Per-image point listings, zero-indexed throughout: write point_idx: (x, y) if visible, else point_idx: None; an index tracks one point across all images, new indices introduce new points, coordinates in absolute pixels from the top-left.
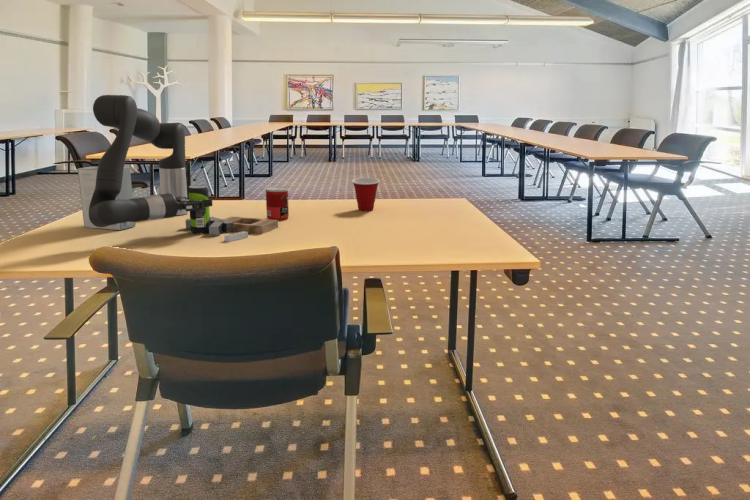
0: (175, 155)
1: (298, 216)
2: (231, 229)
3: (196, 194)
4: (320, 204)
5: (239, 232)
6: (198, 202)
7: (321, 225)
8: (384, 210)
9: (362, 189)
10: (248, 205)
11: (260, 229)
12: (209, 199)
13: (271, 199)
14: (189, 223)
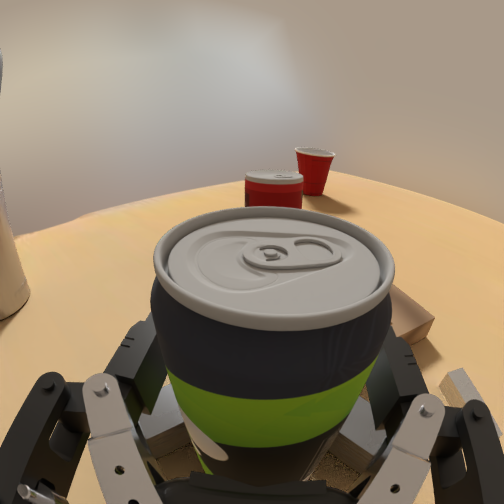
0: None
1: None
2: None
3: (365, 372)
4: (229, 193)
5: (461, 389)
6: (499, 443)
7: (388, 245)
8: (330, 191)
9: (324, 164)
10: (122, 221)
11: (426, 328)
12: (388, 333)
13: (283, 205)
14: (152, 445)
